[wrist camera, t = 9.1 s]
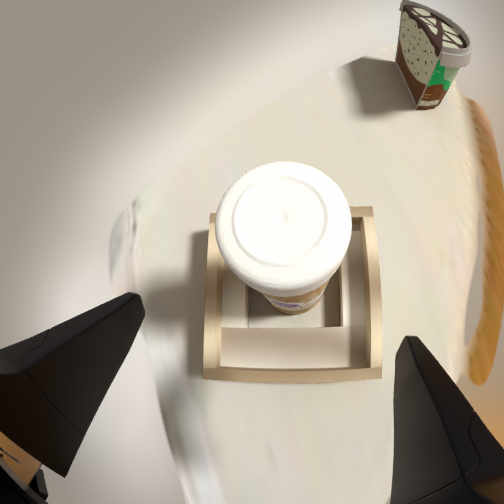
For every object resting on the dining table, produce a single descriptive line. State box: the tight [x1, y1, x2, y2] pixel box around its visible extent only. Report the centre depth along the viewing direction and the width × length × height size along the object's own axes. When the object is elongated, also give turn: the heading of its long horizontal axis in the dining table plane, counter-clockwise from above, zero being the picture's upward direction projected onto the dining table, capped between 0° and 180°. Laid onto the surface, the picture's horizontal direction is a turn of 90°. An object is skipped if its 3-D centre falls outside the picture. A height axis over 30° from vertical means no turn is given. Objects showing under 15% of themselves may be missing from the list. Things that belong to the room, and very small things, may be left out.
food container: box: [395, 0, 471, 110], centre depth 20 cm, size 12×6×10 cm, turn 177°
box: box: [203, 206, 383, 383], centre depth 20 cm, size 12×12×3 cm
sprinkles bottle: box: [215, 162, 352, 315], centre depth 15 cm, size 5×5×13 cm
